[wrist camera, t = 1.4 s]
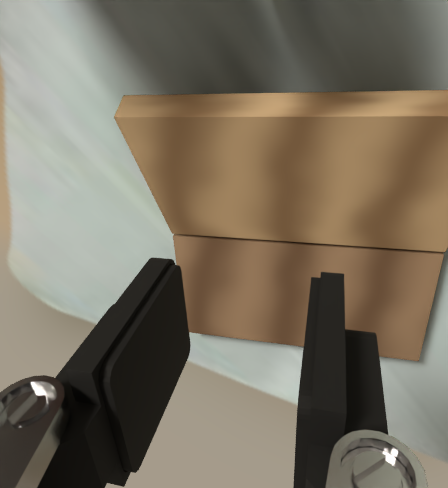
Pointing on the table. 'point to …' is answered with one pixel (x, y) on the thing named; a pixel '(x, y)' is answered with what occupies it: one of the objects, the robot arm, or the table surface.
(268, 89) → the table surface
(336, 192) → the oak plank
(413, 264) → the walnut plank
